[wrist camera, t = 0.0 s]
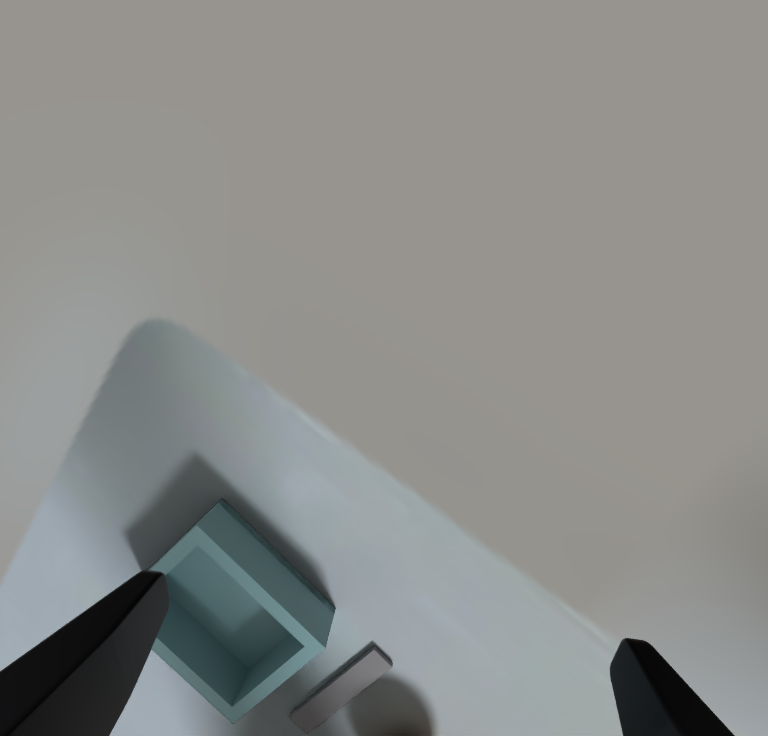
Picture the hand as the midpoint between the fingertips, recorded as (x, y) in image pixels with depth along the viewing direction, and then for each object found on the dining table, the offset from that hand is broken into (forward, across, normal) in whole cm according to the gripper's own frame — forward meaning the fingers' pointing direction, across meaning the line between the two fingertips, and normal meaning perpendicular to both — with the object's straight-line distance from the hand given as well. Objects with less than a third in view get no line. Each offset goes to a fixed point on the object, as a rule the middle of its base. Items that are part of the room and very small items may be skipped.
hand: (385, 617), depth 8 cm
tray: (+12, +9, +16) cm, 22 cm away
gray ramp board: (+10, +2, +22) cm, 24 cm away
